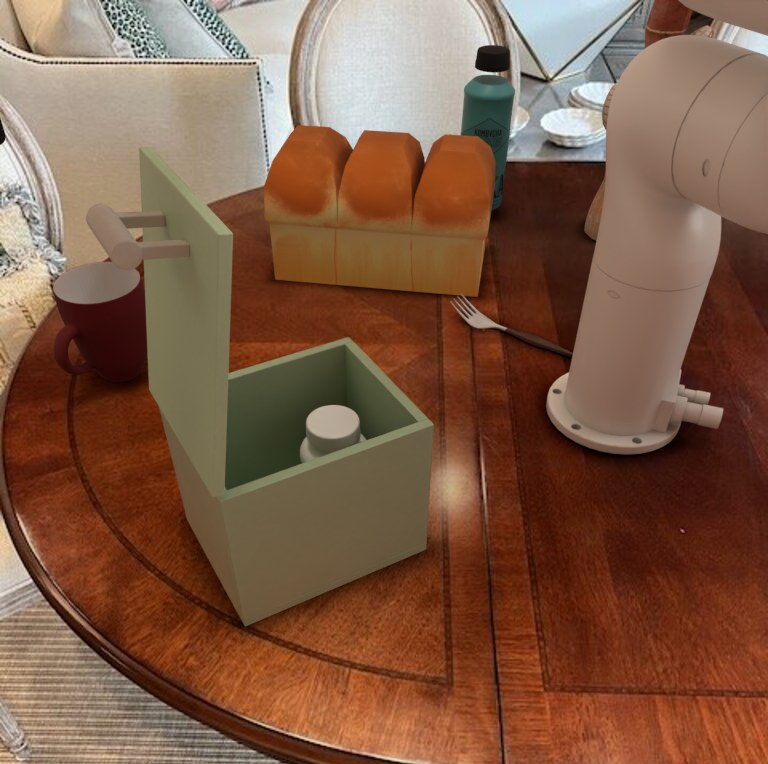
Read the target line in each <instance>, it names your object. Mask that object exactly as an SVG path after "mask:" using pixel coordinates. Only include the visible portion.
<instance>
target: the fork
mask: <svg viewBox="0 0 768 764" xmlns="http://www.w3.org/2000/svg"><path fill="white" fill-rule="evenodd" d="M460 297H462V298H463V300H464V301H465V302H466V303H467V304H468V305H467V304H466V303H465V302H464V301H463V300H462V299H461V298H460ZM456 298H457V299H458V300H459V302H460V303H461V304H462V305H463V306H462V305H461V304H460V303H459V302H458V301H457V299H455V298H453V301H454V303H456V305H457V306H458V307H459V308H460V310H459V308H458V307H457V306H456V305H455V304H454V303H453V301H451V300H449V303H450V305H451V306H452V307H453V308H454V309H455V311H456V312H457V313H458V314H459V316H460V317H461V318H462V319H463V320H464V321H465V322H467V324H468V325H469V326H471V327H472V328H475V329H482V330H487V329H498V330H501V331H504V332H505V333H507V334H510V335H511V336H513V337H515V338H516V339H519V340H521V341H523V342H525V343H527V344H529V345H532V346H534V347H538V348H540V349H544V350H548V351H551V352H554V353H557V354H560V355H563V356H565V357H569V358H572V356H573V352H572V351H570V350H567V349H565V348H563V347H562V346H558V345H557V344H555V343H553V342H551V341H548V340H546V339H544V338H541V337H540V336H537V335H534V334H530V333H527V332H523V331H520V330H516V329H513V328H509V327H506V326H503V325H500V324H498V323H497V322H494V321H493V320H491V319H490V318H489V317H487V316H486V315H484V314H483V313H482V312H481V311H479V310H478V309H477V308H475V306H473V304H472V303H471V302H470V301H469V300H468V299H467V298H466V296H463V295H462V293H461V296H459V295H456ZM469 307H470V308H469ZM464 308H465V309H466V310H467V311H466V310H465V309H464ZM462 312H463V313H464V314H463V313H462Z"/></svg>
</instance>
